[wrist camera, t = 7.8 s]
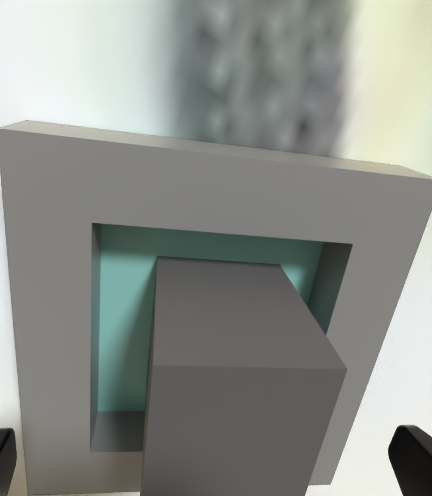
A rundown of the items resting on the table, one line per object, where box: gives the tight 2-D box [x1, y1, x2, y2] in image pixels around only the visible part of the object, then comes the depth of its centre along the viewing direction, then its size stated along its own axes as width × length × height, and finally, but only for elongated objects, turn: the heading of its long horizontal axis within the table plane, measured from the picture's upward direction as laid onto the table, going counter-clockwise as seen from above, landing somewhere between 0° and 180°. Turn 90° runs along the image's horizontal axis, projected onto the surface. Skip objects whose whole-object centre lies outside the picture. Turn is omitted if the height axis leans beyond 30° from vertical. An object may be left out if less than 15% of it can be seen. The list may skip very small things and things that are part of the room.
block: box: [140, 256, 348, 496], centre depth 11 cm, size 4×5×5 cm
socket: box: [0, 120, 432, 496], centre depth 12 cm, size 11×12×2 cm
